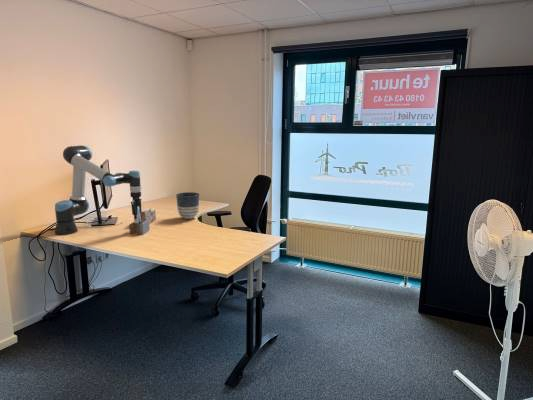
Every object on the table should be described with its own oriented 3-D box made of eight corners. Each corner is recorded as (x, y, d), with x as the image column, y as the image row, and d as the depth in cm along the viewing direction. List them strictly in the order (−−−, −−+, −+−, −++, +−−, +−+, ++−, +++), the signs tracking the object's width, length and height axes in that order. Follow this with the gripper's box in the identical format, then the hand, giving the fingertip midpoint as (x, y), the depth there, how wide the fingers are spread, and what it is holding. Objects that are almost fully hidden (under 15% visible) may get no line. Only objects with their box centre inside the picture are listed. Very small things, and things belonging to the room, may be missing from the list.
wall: (140, 234, 276) (140, 224, 274) (146, 230, 288) (146, 220, 286) (143, 234, 276) (142, 224, 274) (149, 230, 288) (148, 220, 286)
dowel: (134, 225, 279) (133, 207, 277) (136, 224, 283) (135, 206, 280) (139, 225, 279) (137, 207, 276) (141, 224, 283) (139, 206, 280)
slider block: (129, 233, 278) (129, 224, 277) (134, 230, 287) (134, 221, 286) (141, 234, 277) (140, 225, 276) (146, 230, 286) (145, 222, 285)
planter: (173, 217, 328) (172, 193, 324) (193, 214, 340) (192, 191, 336) (183, 222, 313) (182, 197, 309) (203, 218, 325) (203, 194, 320)
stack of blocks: (149, 219, 320) (148, 205, 318) (156, 220, 320) (155, 206, 318) (138, 226, 300) (137, 211, 297) (146, 226, 299) (145, 211, 297)
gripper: (135, 193, 268) (137, 225, 272) (144, 189, 284) (146, 219, 289) (125, 193, 268) (127, 225, 273) (135, 189, 285) (137, 219, 289)
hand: (137, 222), depth 281 cm, fingers closed on dowel, 3 cm apart
